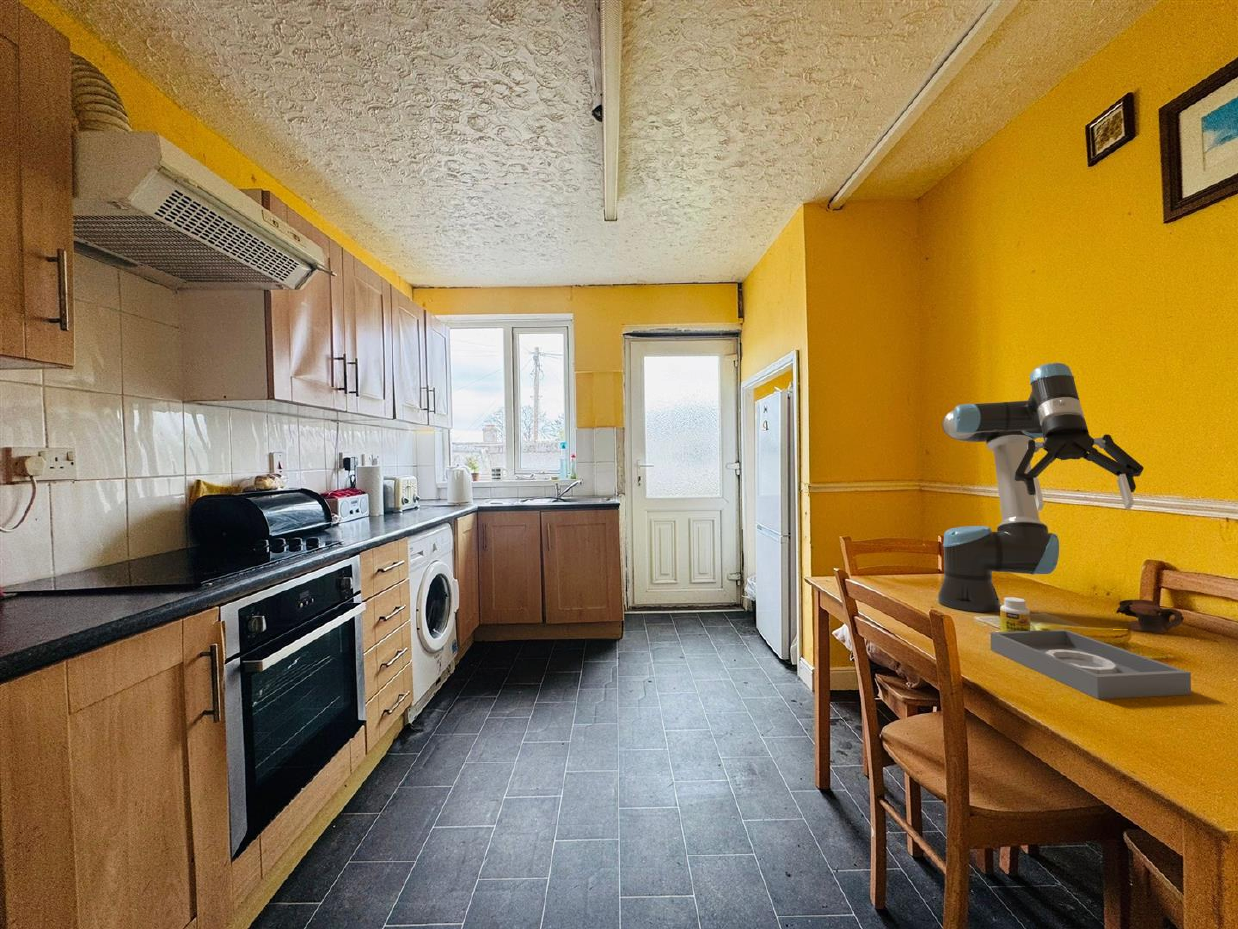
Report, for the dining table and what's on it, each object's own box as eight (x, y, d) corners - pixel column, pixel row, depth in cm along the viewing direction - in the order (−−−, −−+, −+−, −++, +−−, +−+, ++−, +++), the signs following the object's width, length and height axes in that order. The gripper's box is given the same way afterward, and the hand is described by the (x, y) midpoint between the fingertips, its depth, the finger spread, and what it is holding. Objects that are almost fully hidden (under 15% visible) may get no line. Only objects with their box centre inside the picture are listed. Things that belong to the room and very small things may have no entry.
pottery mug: (1114, 630, 126) (1108, 598, 130) (1130, 640, 130) (1123, 609, 134) (1182, 630, 117) (1173, 595, 120) (1197, 641, 120) (1188, 608, 124)
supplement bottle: (1003, 644, 117) (1001, 600, 117) (998, 636, 122) (997, 595, 122) (1033, 648, 114) (1032, 603, 114) (1027, 640, 119) (1027, 597, 119)
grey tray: (990, 650, 113) (990, 632, 113) (1065, 646, 114) (1065, 629, 114) (1097, 699, 89) (1097, 677, 89) (1191, 694, 90) (1190, 672, 90)
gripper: (994, 418, 115) (1008, 499, 105) (1144, 405, 102) (1177, 495, 92) (992, 437, 121) (1005, 515, 110) (1134, 426, 108) (1164, 514, 98)
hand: (1083, 506), depth 101 cm, fingers open, 13 cm apart
